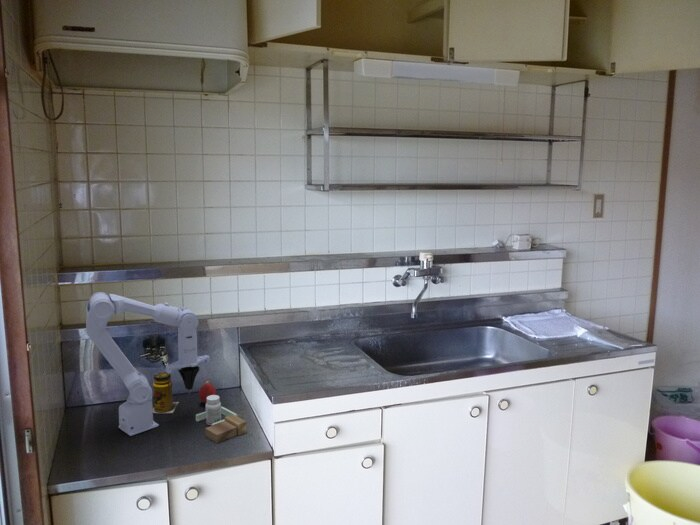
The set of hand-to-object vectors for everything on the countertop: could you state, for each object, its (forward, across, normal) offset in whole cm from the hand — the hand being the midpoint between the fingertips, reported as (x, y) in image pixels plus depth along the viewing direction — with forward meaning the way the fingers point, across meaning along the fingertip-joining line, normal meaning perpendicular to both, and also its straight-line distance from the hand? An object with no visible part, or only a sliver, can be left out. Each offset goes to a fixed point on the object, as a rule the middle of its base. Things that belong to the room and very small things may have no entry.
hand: (188, 388), depth 188 cm
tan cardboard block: (+10, 0, -17) cm, 20 cm away
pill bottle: (+10, +4, -8) cm, 13 cm away
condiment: (+10, -2, +12) cm, 16 cm away
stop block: (+10, +6, -17) cm, 20 cm away
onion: (+10, +10, +5) cm, 15 cm away
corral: (+10, +5, -8) cm, 14 cm away
